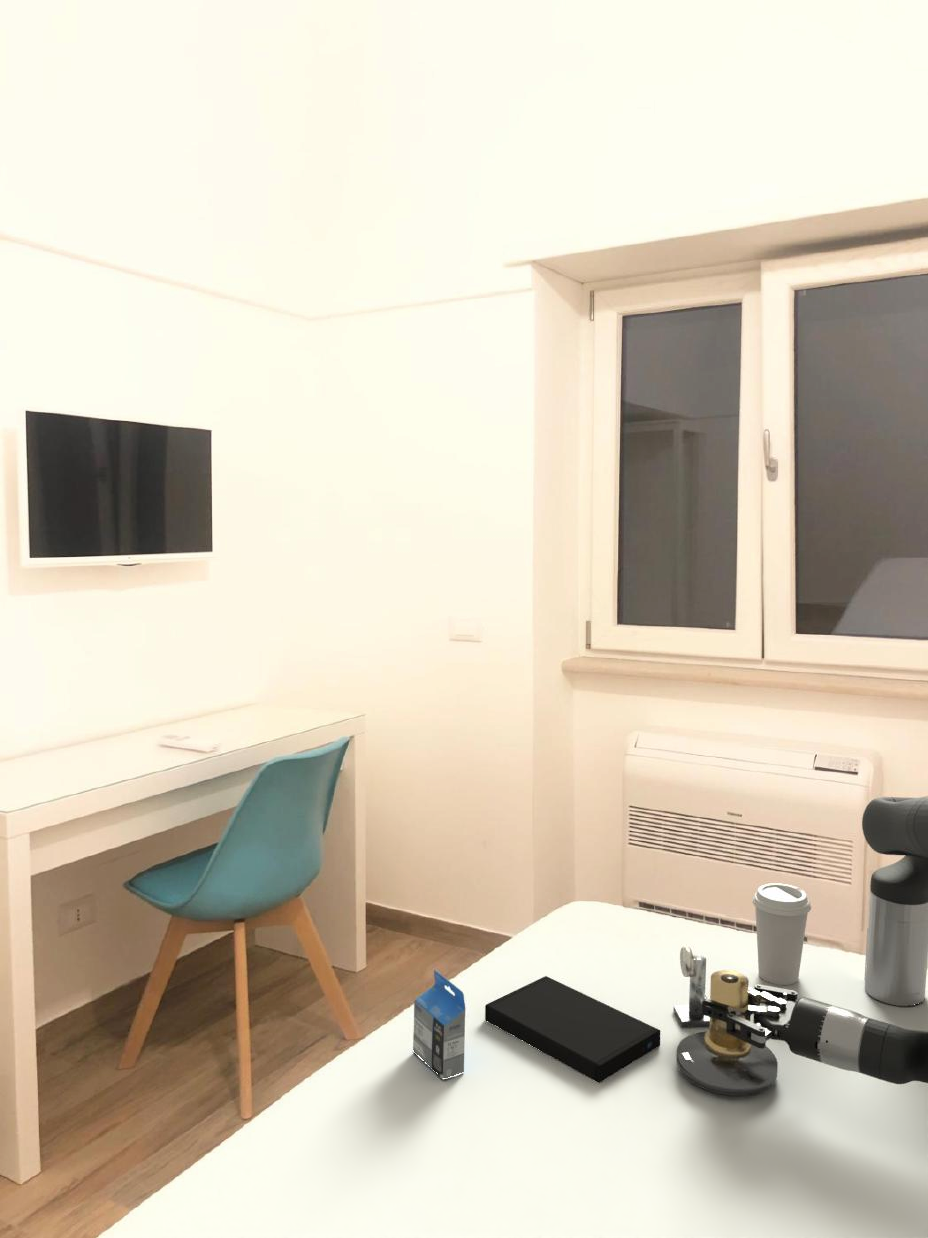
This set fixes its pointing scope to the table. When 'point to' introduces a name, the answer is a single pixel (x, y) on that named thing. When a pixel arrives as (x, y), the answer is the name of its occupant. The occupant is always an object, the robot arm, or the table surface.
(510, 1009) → the external hard drive
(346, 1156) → the table surface
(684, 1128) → the table surface
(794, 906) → the coffee cup
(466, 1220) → the table surface
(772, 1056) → the turntable platter
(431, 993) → the label tape box
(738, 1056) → the brass cover
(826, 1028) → the robot arm
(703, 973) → the dial gauge stand
